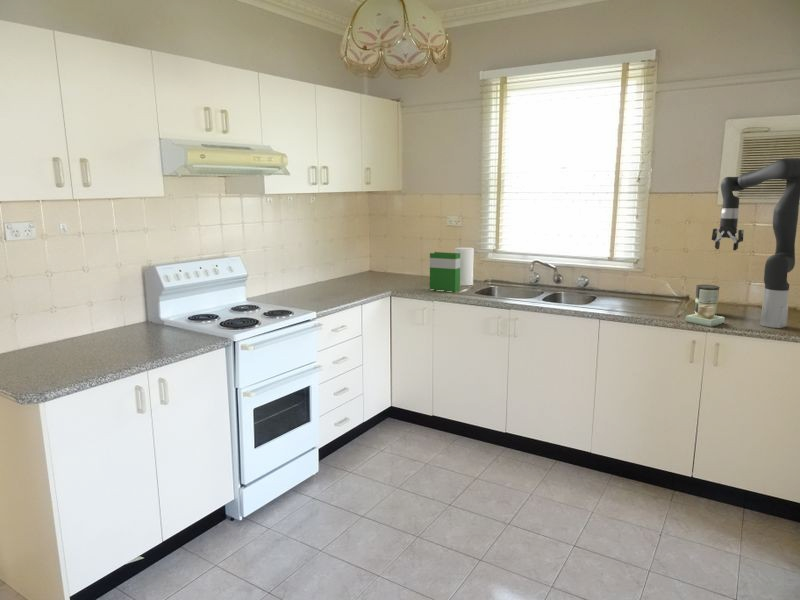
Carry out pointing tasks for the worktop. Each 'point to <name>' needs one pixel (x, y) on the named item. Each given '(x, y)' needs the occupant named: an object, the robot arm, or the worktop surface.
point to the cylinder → (466, 265)
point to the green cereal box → (445, 271)
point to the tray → (704, 320)
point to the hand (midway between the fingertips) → (725, 249)
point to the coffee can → (706, 296)
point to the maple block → (706, 312)
